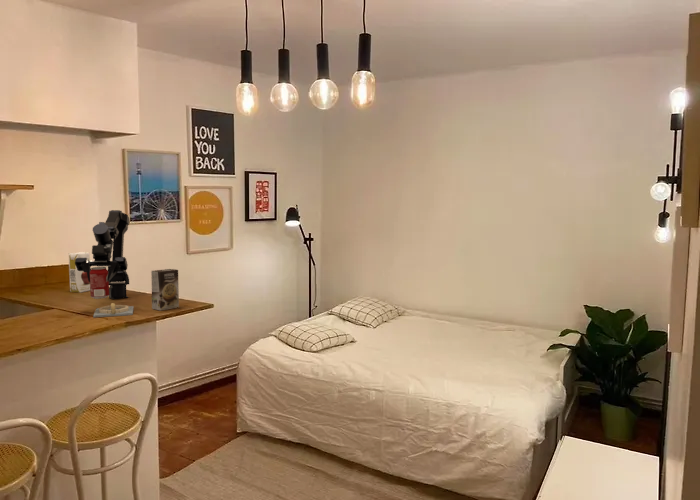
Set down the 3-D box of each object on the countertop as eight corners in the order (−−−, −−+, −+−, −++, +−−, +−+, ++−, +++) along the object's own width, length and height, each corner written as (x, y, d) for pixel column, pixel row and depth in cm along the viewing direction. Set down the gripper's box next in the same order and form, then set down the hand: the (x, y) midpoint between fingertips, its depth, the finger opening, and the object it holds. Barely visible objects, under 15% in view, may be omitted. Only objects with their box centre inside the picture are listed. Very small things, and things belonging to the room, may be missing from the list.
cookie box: (160, 310, 215) (159, 271, 214) (151, 308, 219) (150, 270, 218) (179, 307, 222) (178, 269, 221) (170, 305, 226) (169, 268, 225)
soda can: (105, 299, 207) (104, 268, 205) (87, 299, 206) (86, 269, 205) (111, 295, 213) (110, 266, 212) (94, 296, 213) (93, 266, 211)
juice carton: (67, 292, 256) (65, 253, 254) (81, 289, 264) (79, 251, 262) (80, 293, 254) (78, 253, 252) (93, 290, 262) (92, 252, 260)
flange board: (96, 310, 216) (96, 298, 215) (133, 307, 221) (133, 296, 220) (93, 317, 203) (92, 305, 202) (132, 314, 208) (132, 302, 207)
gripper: (74, 237, 209) (67, 269, 199) (125, 237, 213) (120, 268, 203) (81, 255, 217) (74, 286, 208) (129, 254, 221) (125, 284, 212)
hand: (98, 280), depth 208 cm, fingers closed on soda can, 7 cm apart
